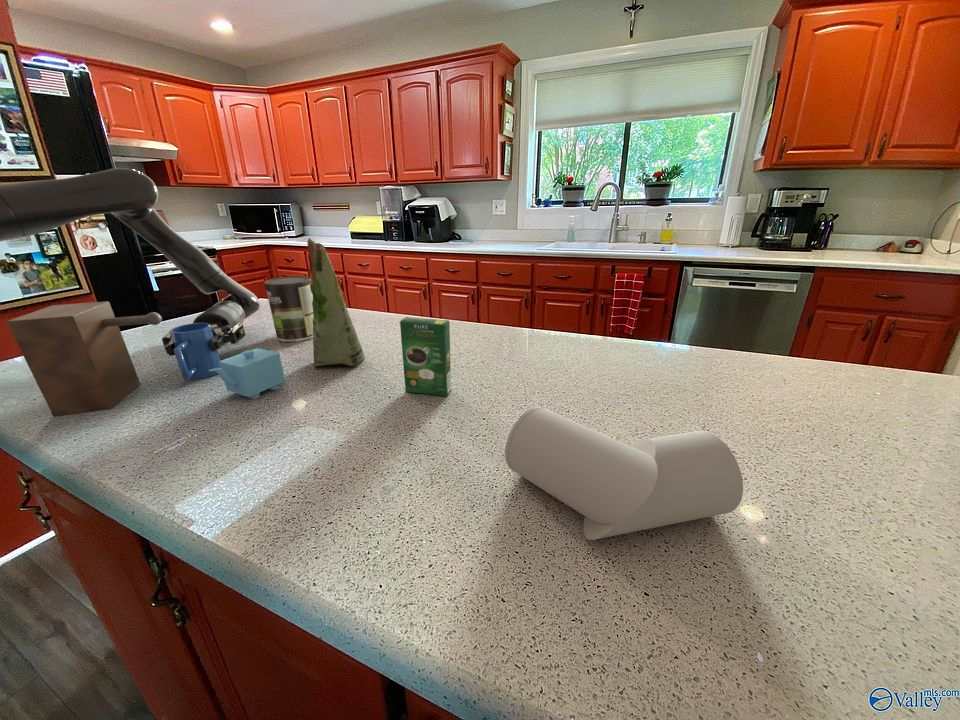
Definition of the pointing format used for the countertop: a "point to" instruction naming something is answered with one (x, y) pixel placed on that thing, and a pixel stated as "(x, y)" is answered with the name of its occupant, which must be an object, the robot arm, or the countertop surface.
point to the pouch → (330, 314)
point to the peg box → (78, 355)
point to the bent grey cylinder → (624, 473)
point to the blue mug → (195, 350)
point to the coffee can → (291, 307)
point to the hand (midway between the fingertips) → (191, 348)
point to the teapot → (251, 372)
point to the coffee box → (426, 355)
